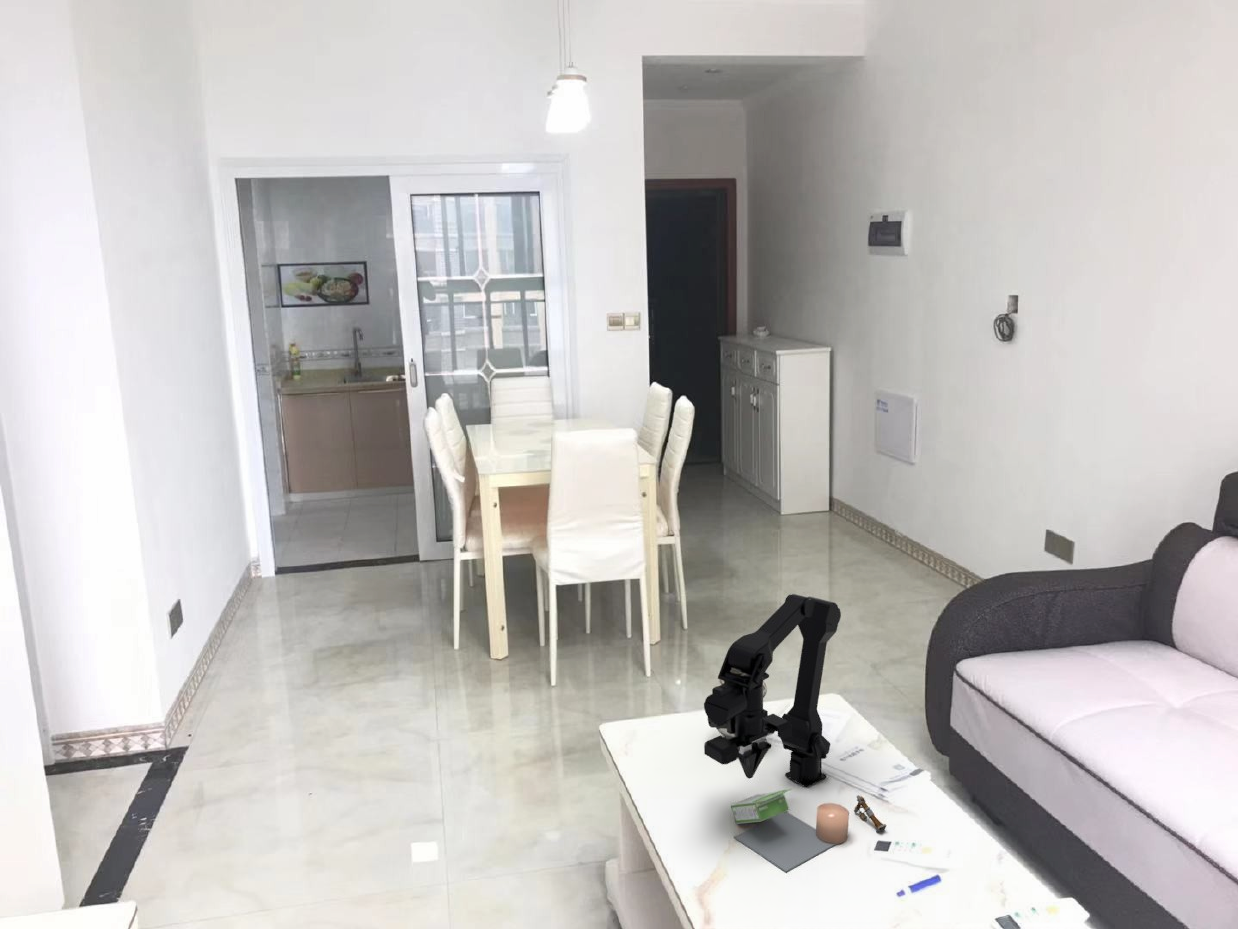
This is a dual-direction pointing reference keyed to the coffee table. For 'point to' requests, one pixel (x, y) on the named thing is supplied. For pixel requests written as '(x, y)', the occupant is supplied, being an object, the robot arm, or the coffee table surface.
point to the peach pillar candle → (832, 823)
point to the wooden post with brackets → (868, 814)
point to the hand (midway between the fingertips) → (749, 777)
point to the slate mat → (784, 841)
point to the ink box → (760, 807)
